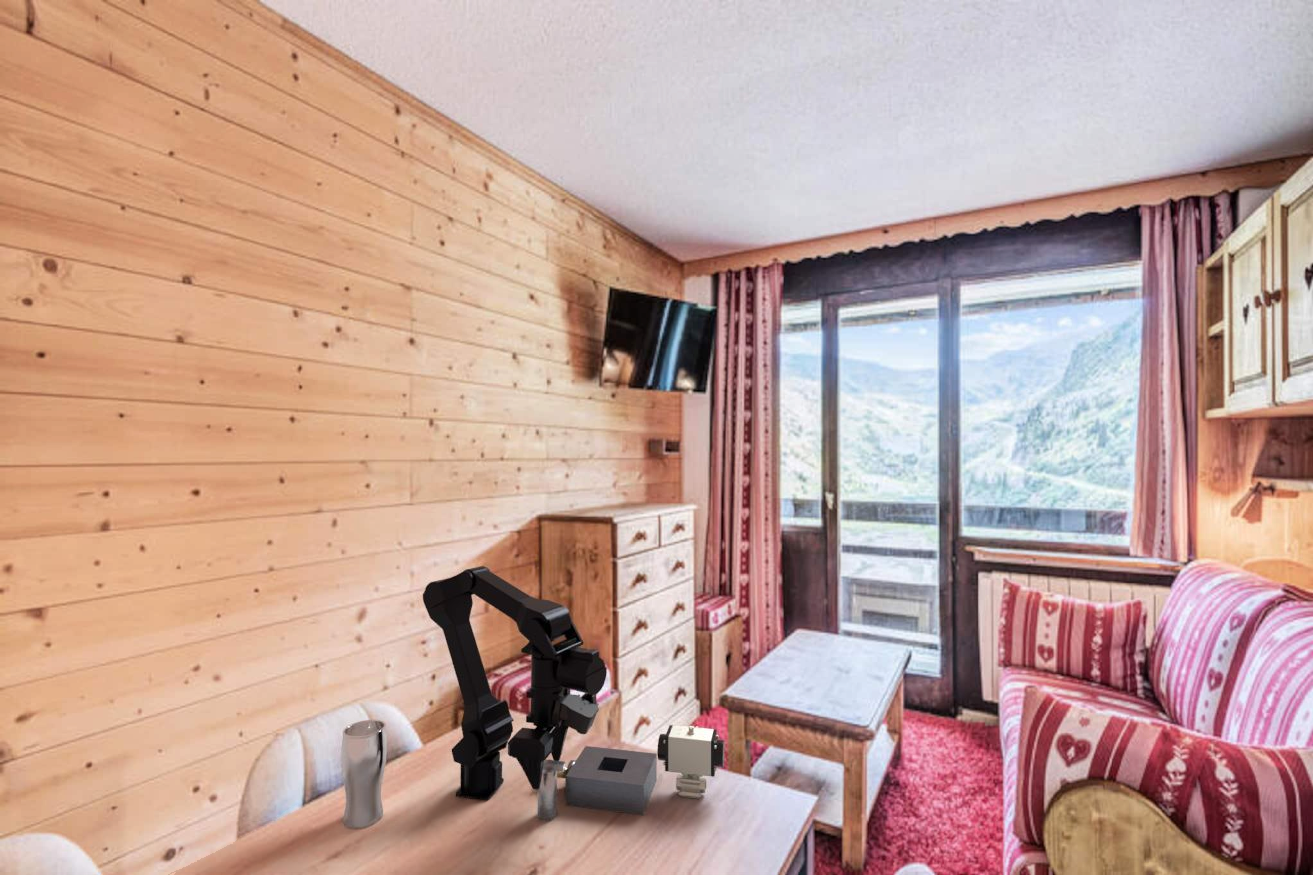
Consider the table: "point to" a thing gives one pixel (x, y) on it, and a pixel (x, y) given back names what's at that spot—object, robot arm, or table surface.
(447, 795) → the table surface
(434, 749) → the table surface
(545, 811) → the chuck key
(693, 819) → the table surface
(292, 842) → the table surface
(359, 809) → the beer glass
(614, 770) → the block
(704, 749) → the pneumatic valve
